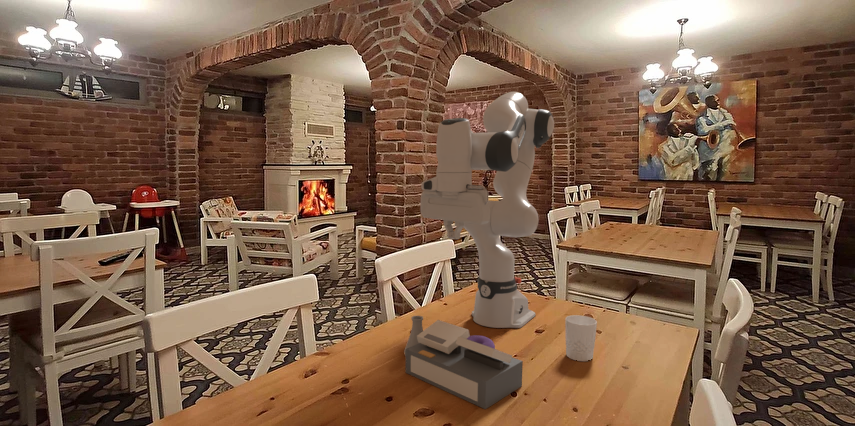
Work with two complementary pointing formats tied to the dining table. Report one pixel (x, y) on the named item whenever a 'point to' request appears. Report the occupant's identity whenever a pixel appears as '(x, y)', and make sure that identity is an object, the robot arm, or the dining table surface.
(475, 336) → the donut
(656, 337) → the dining table surface
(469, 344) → the switch
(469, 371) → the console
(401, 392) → the dining table surface
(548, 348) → the dining table surface
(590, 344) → the white cup
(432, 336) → the switch
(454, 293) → the dining table surface
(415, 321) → the flask
